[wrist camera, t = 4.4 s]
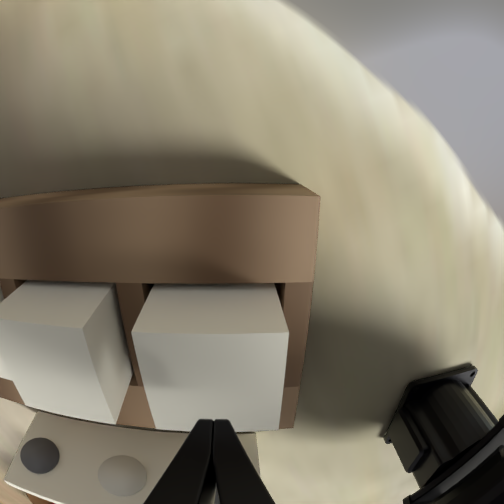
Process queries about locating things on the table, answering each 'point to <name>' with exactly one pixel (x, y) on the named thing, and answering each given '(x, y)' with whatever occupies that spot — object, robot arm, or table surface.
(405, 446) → the robot arm
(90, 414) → the button mid
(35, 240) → the board
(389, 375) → the table surface
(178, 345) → the button right
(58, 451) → the card
